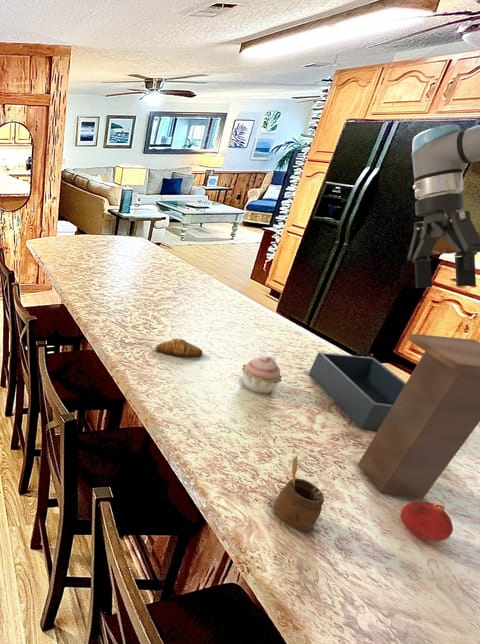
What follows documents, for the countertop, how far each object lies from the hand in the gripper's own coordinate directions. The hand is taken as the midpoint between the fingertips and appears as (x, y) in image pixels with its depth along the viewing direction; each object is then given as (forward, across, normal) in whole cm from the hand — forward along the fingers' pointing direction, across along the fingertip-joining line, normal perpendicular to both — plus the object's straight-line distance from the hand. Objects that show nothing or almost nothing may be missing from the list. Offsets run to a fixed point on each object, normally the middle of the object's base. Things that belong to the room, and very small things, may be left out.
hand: (443, 287), depth 91 cm
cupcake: (+24, +1, -39) cm, 46 cm away
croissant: (+16, -8, -57) cm, 60 cm away
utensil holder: (+39, +40, -44) cm, 71 cm away
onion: (+42, +36, -25) cm, 60 cm away
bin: (+28, -2, -16) cm, 33 cm away
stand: (+37, +23, -23) cm, 50 cm away
